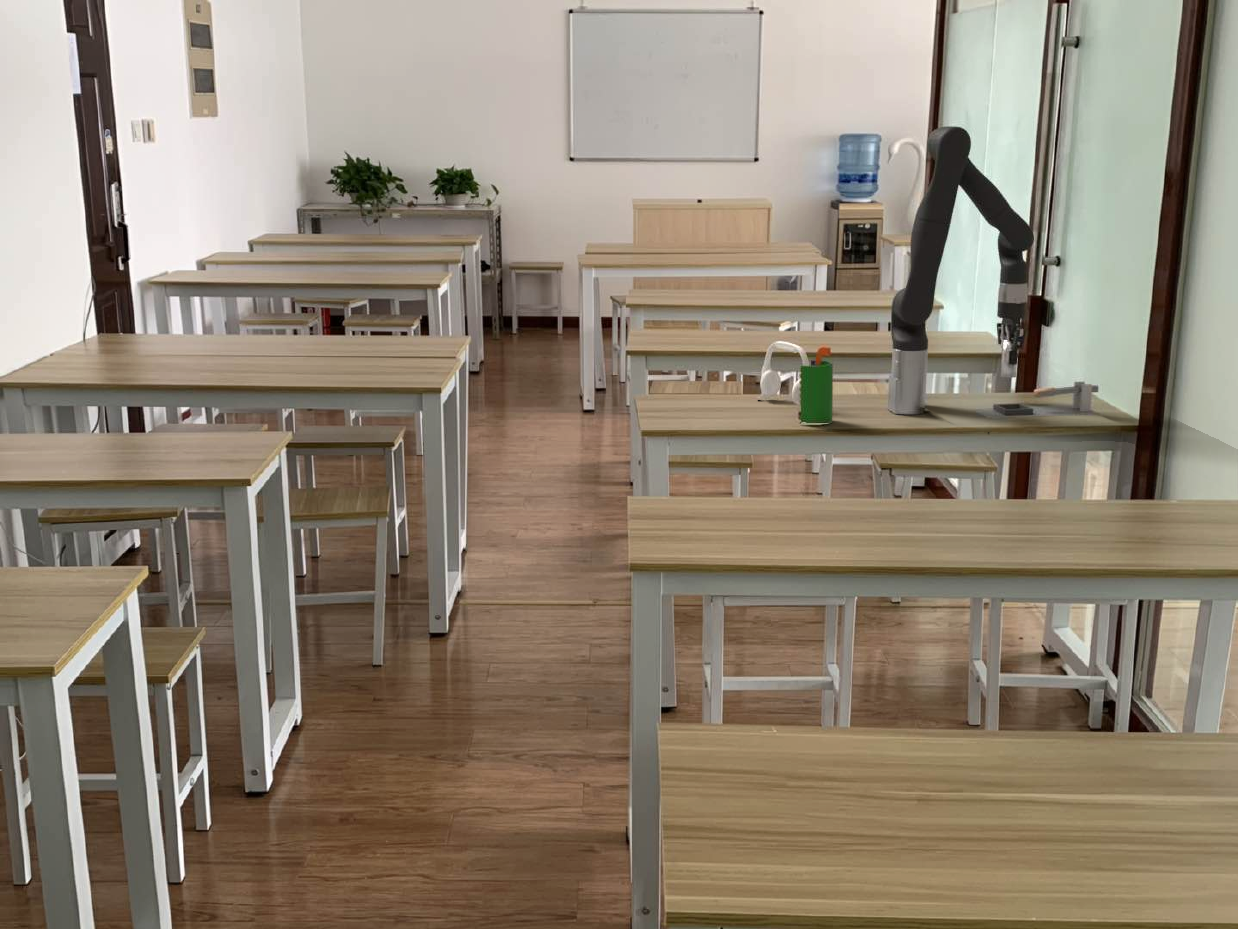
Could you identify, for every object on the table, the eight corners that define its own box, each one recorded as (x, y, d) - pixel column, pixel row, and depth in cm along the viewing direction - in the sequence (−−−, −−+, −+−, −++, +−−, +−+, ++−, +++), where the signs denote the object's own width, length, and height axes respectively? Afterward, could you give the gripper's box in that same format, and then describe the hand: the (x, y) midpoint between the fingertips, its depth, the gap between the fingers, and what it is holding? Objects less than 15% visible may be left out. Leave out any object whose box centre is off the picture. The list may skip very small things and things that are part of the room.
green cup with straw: (798, 417, 332) (799, 343, 327) (832, 418, 330) (834, 343, 325) (797, 425, 322) (798, 349, 317) (832, 426, 320) (834, 349, 316)
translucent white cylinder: (1004, 377, 336) (1006, 341, 333) (998, 375, 340) (1000, 339, 337) (1018, 377, 336) (1020, 340, 334) (1012, 374, 340) (1014, 338, 338)
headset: (817, 410, 341) (819, 345, 337) (797, 413, 338) (798, 348, 333) (774, 398, 358) (775, 336, 354) (754, 400, 355) (755, 339, 350)
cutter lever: (1037, 398, 325) (1037, 390, 325) (1033, 396, 328) (1033, 388, 327) (1099, 392, 327) (1099, 384, 326) (1094, 390, 329) (1095, 382, 329)
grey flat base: (989, 423, 320) (990, 391, 318) (970, 414, 332) (972, 383, 330) (1099, 419, 324) (1101, 387, 322) (1077, 409, 335) (1079, 378, 333)
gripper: (988, 297, 339) (985, 359, 343) (1010, 303, 326) (1006, 368, 330) (1014, 296, 340) (1011, 358, 344) (1037, 302, 326) (1033, 366, 331)
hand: (1009, 362), depth 337 cm, fingers closed on translucent white cylinder, 4 cm apart
